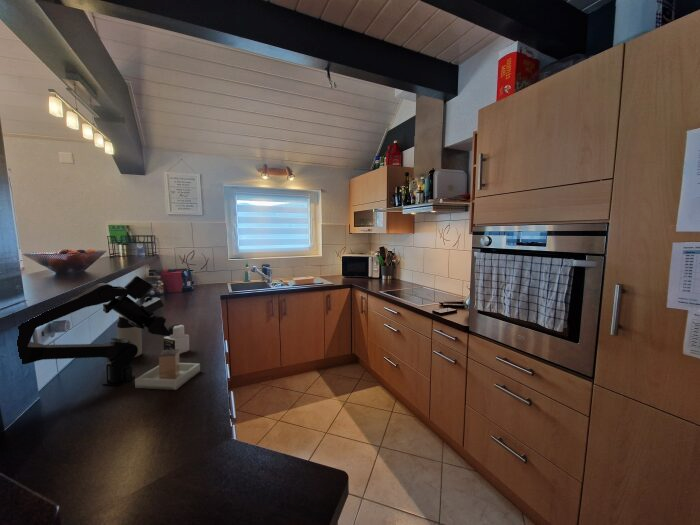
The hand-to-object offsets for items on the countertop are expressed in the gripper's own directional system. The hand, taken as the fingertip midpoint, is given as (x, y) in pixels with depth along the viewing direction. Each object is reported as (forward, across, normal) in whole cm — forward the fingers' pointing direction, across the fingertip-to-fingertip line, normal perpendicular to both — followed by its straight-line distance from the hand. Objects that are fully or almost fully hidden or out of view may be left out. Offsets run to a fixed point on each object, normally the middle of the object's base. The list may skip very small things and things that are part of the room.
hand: (164, 332), depth 111 cm
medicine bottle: (+17, +13, +2) cm, 22 cm away
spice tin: (+7, -12, +11) cm, 18 cm away
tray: (+7, -12, +12) cm, 18 cm away
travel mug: (+7, +24, +12) cm, 27 cm away
